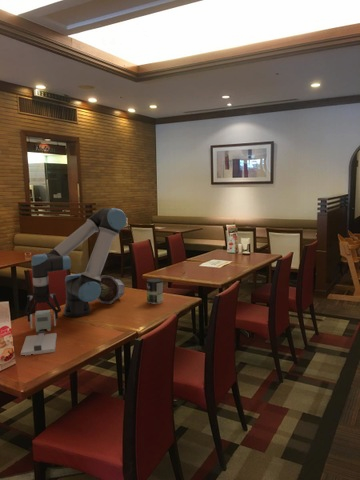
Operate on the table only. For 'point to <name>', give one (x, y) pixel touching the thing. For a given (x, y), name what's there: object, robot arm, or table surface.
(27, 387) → the table surface
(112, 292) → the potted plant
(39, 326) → the block
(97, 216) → the robot arm
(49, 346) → the mounting plate
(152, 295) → the coffee can
